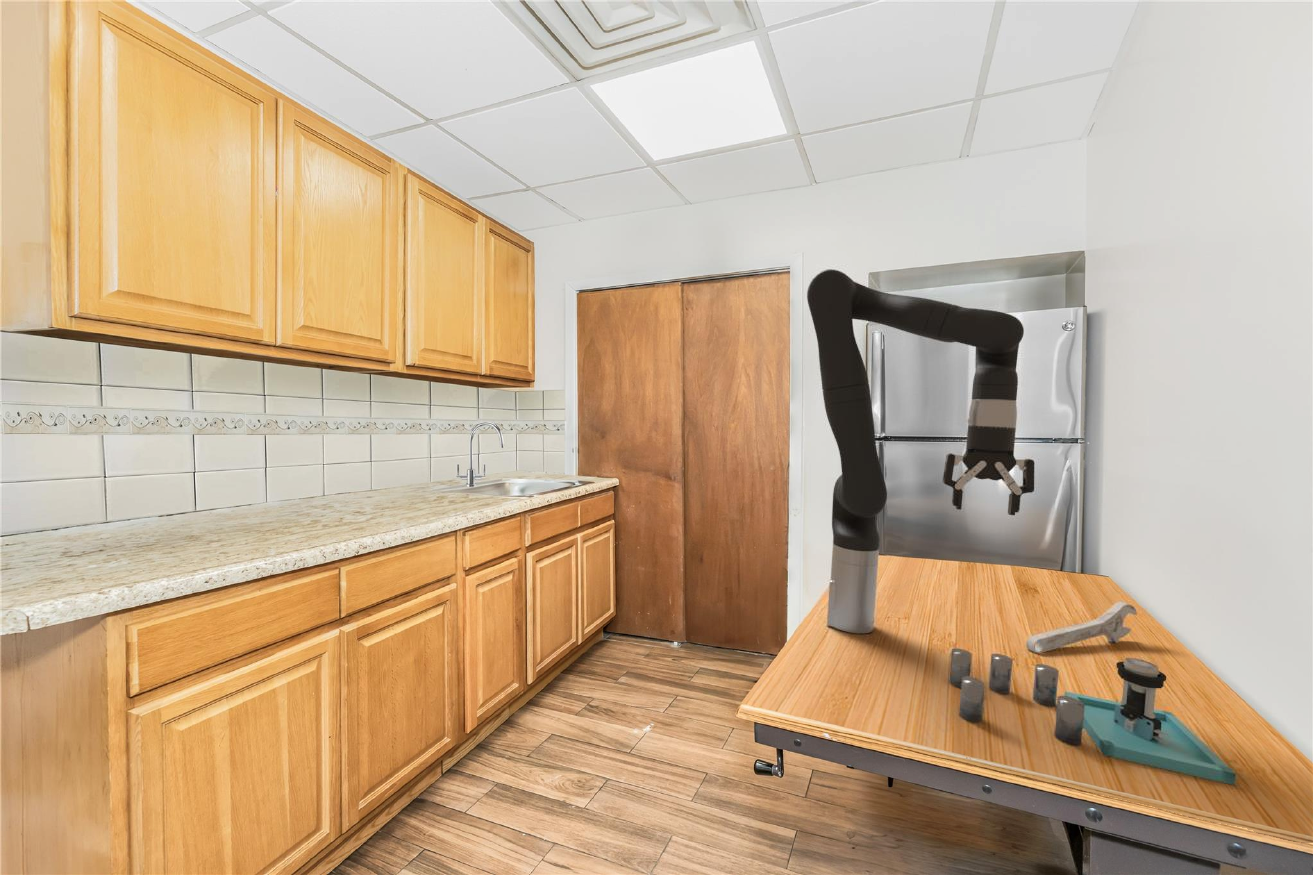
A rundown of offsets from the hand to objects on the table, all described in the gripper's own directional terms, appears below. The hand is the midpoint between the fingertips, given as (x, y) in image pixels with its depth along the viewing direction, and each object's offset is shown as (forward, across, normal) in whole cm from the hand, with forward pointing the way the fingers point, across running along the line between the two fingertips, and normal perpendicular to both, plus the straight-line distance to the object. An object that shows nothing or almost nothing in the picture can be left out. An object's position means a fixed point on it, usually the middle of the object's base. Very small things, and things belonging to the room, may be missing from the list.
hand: (984, 511), depth 99 cm
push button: (+28, +18, -18) cm, 38 cm away
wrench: (+28, +23, +20) cm, 41 cm away
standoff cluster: (+28, +2, -18) cm, 33 cm away
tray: (+28, +18, -18) cm, 38 cm away
